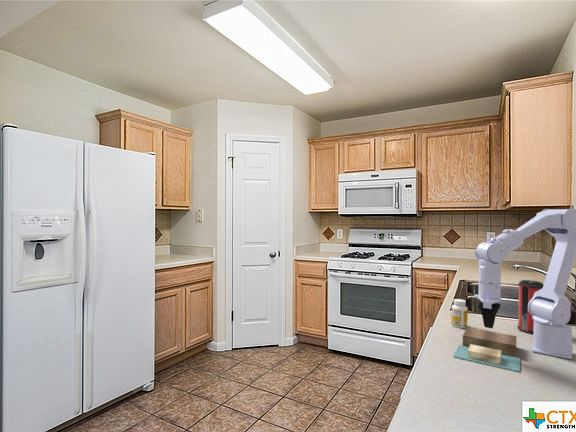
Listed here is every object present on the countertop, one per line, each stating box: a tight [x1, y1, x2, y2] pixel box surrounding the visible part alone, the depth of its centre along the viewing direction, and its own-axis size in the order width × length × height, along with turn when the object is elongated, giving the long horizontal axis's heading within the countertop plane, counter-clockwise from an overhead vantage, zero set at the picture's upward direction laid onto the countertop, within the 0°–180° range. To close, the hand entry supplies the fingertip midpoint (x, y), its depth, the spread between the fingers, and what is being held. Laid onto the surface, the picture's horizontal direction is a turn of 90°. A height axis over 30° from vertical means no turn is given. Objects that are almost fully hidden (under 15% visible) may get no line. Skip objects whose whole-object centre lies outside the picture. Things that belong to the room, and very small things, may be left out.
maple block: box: [468, 344, 502, 365], centre depth 99 cm, size 8×6×2 cm
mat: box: [453, 344, 521, 373], centre depth 100 cm, size 16×11×1 cm
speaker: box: [517, 279, 544, 335], centre depth 125 cm, size 8×8×18 cm
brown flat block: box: [462, 326, 518, 357], centre depth 109 cm, size 14×10×4 cm
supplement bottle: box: [450, 298, 468, 329], centre depth 129 cm, size 5×5×10 cm
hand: (488, 327), depth 104 cm, fingers closed
